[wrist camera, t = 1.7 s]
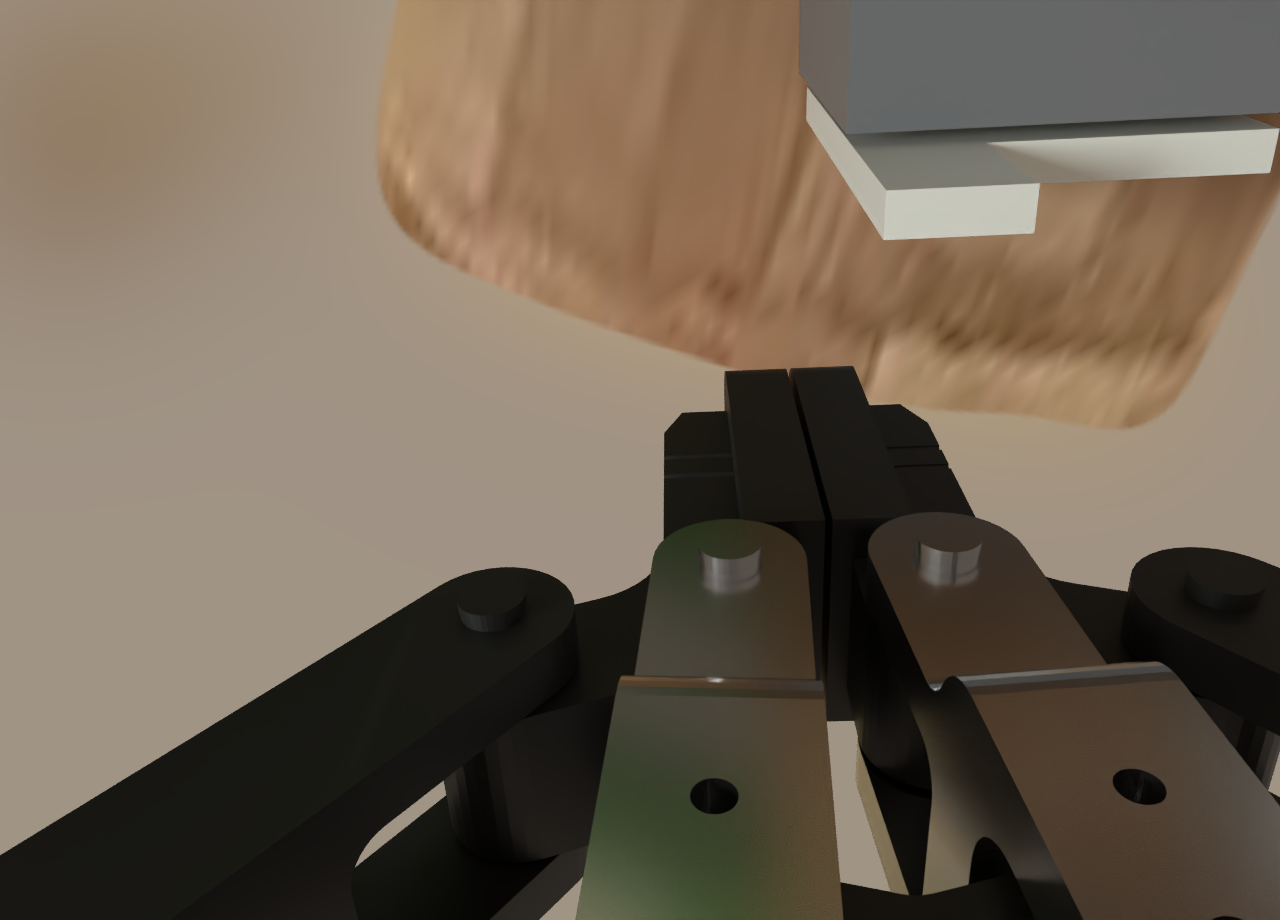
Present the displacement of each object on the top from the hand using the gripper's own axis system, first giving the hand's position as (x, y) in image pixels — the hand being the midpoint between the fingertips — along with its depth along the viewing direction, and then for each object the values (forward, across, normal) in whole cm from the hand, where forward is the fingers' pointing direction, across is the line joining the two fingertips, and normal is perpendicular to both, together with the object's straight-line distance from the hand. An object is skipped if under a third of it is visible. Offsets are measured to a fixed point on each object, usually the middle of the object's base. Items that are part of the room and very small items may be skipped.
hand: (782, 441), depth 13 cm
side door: (+23, -8, 0) cm, 25 cm away
